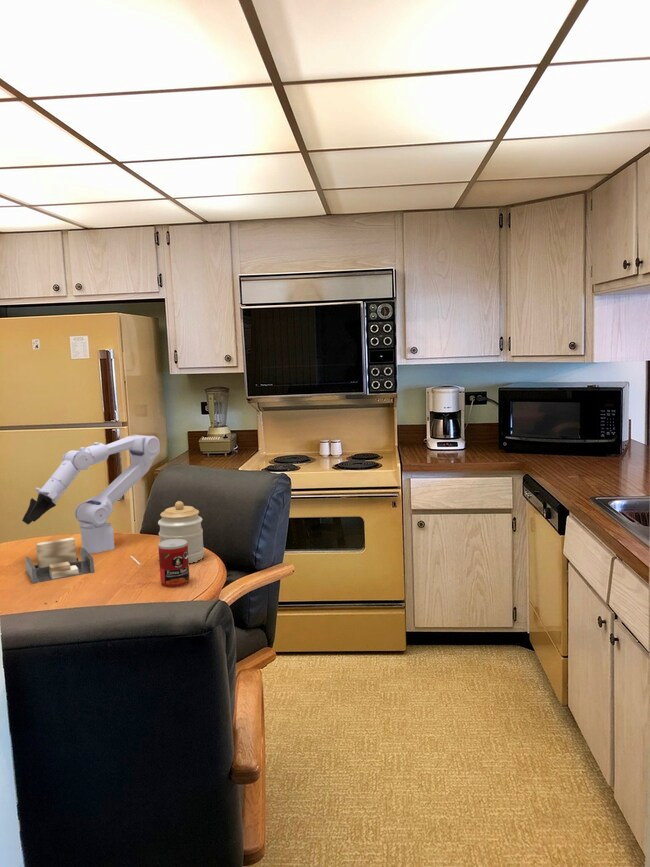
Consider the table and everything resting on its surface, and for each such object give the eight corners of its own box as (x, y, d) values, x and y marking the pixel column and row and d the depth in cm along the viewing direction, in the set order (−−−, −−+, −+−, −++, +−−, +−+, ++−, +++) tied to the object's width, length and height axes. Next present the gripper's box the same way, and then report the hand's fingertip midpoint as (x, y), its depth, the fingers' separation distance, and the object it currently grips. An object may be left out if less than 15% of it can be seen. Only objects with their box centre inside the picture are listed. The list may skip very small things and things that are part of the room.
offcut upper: (68, 566, 194) (67, 561, 193) (70, 569, 191) (70, 564, 190) (49, 570, 191) (48, 564, 191) (51, 573, 188) (51, 567, 188)
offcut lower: (75, 570, 195) (75, 565, 195) (78, 574, 192) (78, 568, 191) (49, 575, 191) (49, 569, 191) (52, 578, 188) (51, 573, 188)
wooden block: (75, 564, 201) (73, 537, 200) (76, 566, 199) (74, 539, 198) (38, 570, 196) (36, 543, 195) (39, 572, 194) (37, 545, 193)
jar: (151, 563, 202) (147, 504, 200) (176, 551, 214) (173, 495, 212) (188, 567, 197) (185, 507, 195) (212, 554, 209) (209, 497, 207)
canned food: (164, 589, 180) (162, 548, 178) (157, 580, 187) (154, 541, 186) (193, 584, 183) (191, 543, 182) (185, 575, 190) (182, 537, 189)
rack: (84, 564, 204) (83, 547, 203) (94, 575, 193) (93, 558, 192) (26, 574, 196) (25, 557, 195) (33, 587, 185) (31, 569, 184)
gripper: (40, 479, 208) (11, 515, 201) (52, 471, 197) (21, 509, 190) (60, 493, 211) (31, 529, 204) (73, 486, 199) (43, 524, 192)
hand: (28, 521), depth 197 cm, fingers open, 7 cm apart
